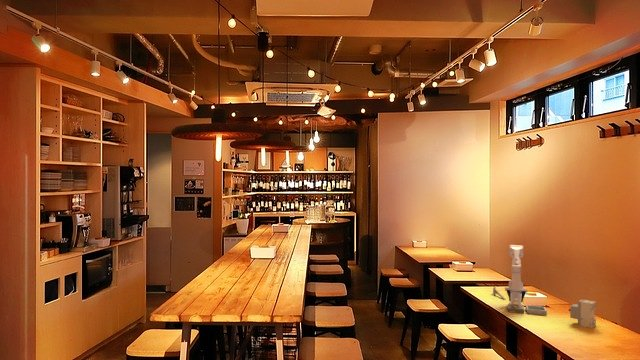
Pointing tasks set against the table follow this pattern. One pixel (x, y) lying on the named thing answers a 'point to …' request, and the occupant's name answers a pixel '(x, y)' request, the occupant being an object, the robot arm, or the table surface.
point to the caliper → (497, 293)
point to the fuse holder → (514, 309)
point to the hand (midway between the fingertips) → (515, 301)
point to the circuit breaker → (584, 313)
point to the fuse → (515, 303)
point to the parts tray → (536, 310)
